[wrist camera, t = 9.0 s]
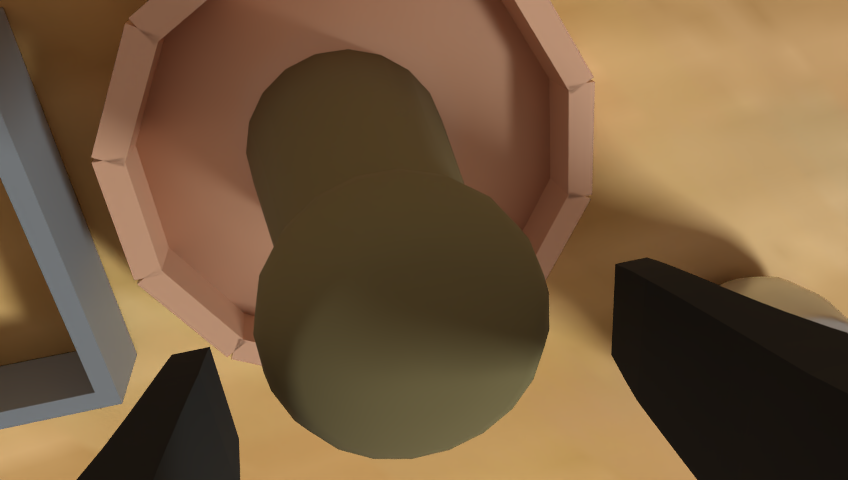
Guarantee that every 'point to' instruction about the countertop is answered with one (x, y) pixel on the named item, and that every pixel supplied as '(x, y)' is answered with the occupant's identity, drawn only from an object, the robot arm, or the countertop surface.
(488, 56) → the dish
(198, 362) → the robot arm
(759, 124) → the countertop surface
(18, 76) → the parts tray
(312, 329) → the olive rounded piece
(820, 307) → the plastic bottle
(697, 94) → the countertop surface
